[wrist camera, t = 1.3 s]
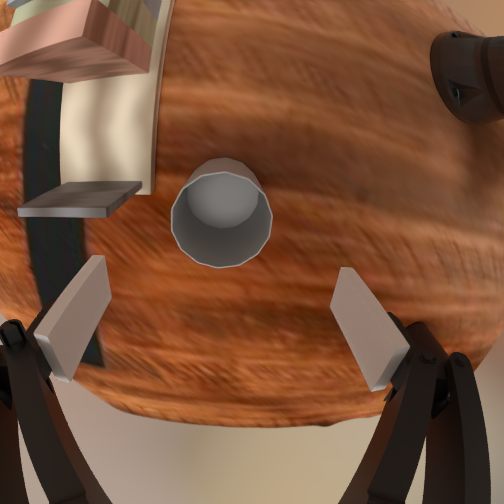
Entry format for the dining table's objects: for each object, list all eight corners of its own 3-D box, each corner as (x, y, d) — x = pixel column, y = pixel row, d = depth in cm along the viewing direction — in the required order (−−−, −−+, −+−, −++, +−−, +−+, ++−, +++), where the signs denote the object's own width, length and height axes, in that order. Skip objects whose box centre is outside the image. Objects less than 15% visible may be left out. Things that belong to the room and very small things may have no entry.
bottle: (398, 352, 47) (441, 428, 29) (395, 333, 45) (446, 415, 27) (425, 336, 47) (473, 407, 29) (424, 315, 44) (480, 390, 26)
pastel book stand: (175, 0, 20) (138, -81, 5) (154, 190, 30) (92, 255, 15) (85, 14, 19) (7, -29, 3) (69, 190, 29) (-19, 246, 14)
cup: (175, 173, 30) (154, 195, 21) (244, 146, 29) (251, 156, 20) (204, 237, 33) (196, 280, 24) (268, 213, 33) (284, 249, 24)
